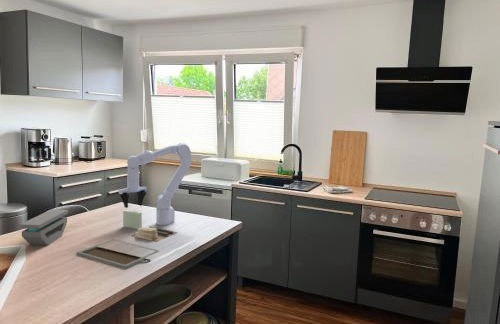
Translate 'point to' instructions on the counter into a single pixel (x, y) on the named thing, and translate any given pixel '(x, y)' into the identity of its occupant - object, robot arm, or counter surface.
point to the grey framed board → (114, 256)
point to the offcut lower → (146, 236)
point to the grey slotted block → (45, 227)
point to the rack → (160, 234)
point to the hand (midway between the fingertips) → (133, 206)
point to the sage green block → (132, 219)
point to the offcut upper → (147, 231)
